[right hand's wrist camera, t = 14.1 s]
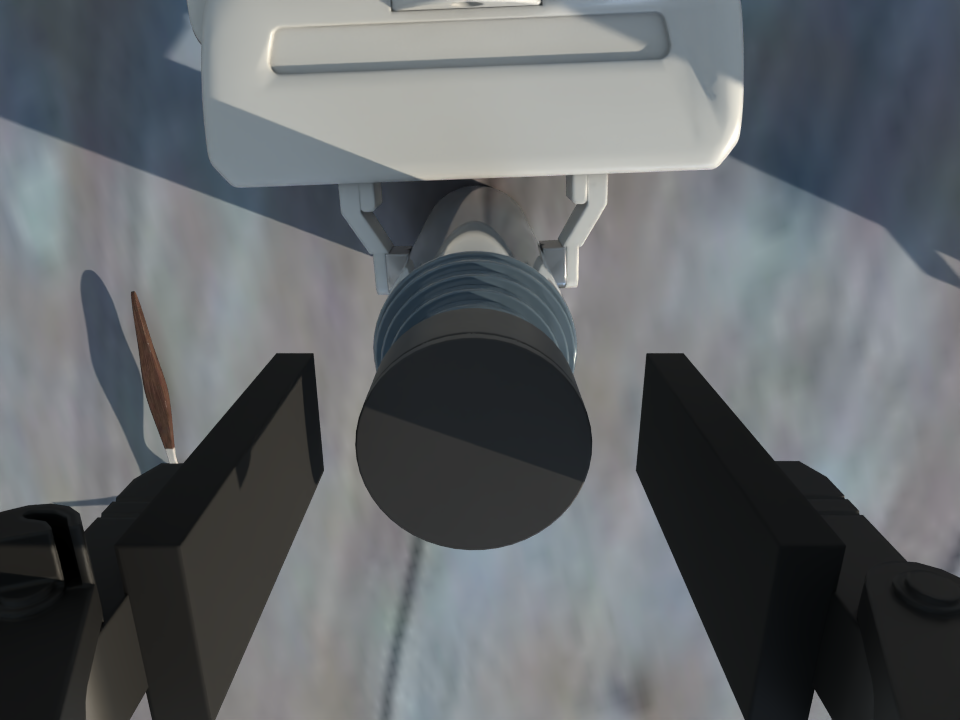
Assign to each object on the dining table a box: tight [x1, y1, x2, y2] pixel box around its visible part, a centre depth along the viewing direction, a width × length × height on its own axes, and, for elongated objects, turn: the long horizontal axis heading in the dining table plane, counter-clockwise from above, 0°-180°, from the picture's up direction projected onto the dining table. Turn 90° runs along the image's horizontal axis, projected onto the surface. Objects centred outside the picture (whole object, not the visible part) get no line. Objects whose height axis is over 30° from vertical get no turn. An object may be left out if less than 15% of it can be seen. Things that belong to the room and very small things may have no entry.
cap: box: [355, 308, 592, 550], centre depth 14 cm, size 4×4×2 cm
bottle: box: [373, 185, 577, 374], centre depth 24 cm, size 6×6×23 cm
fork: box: [131, 291, 178, 463], centre depth 37 cm, size 3×16×2 cm, turn 3°
